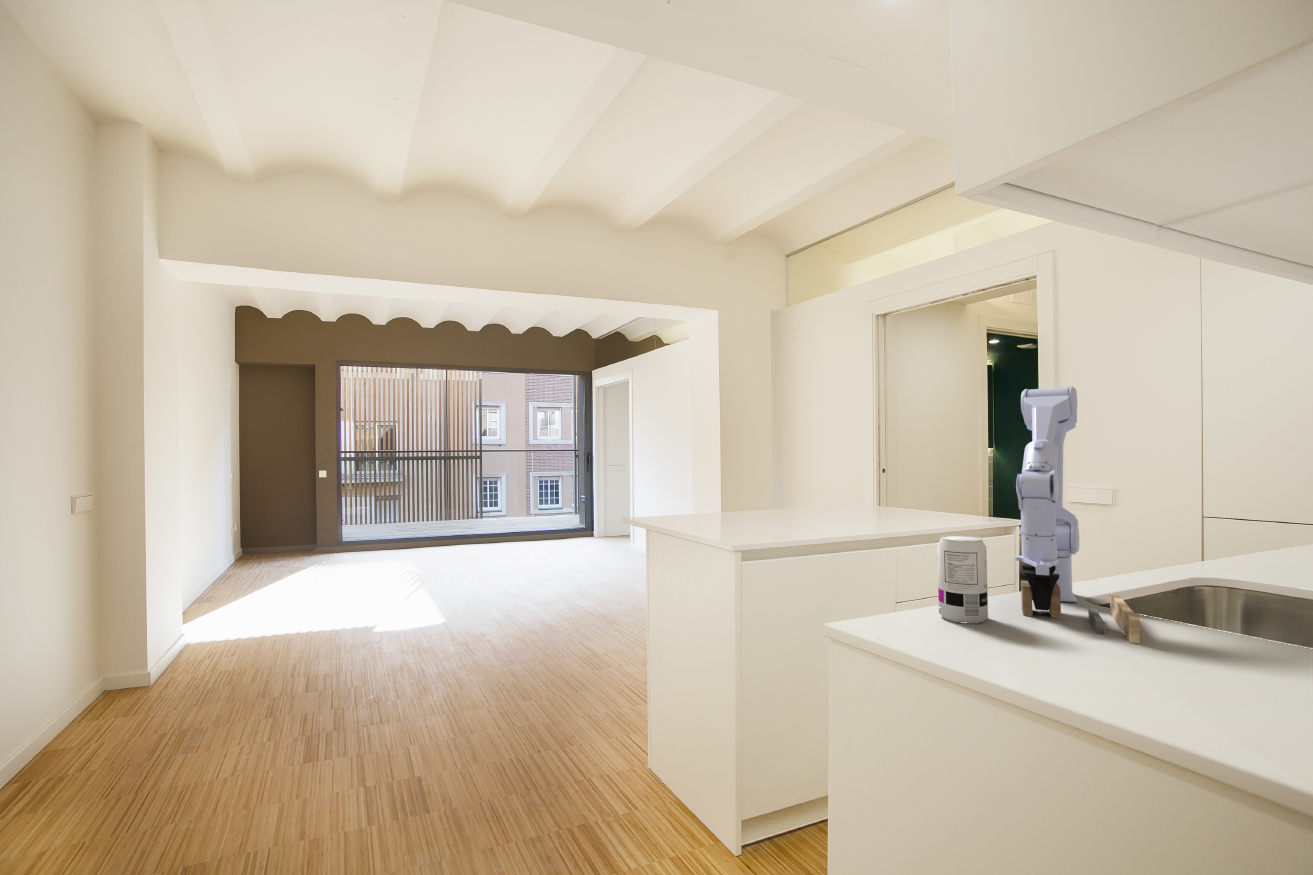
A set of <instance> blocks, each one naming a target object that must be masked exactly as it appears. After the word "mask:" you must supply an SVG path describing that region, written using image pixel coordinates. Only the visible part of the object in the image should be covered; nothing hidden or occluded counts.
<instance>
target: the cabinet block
mask: <svg viewBox="0 0 1313 875" xmlns="http://www.w3.org/2000/svg"><path fill="white" fill-rule="evenodd" d="M1020 587H1021V590H1020V592H1021V596H1020V597H1021V612H1022V615H1023V616H1026V615H1027V617H1028V616H1029V617H1033V615H1034V613H1033V598H1032V593H1031V588H1030V585H1029V582H1028V580H1020ZM1061 603H1062V601H1061V598H1060V587H1059V585H1058V583H1056V584H1055V586H1054V589H1053V592H1052V597H1051V603H1050V607H1049V610H1048V613H1049V615H1050V618H1051V619H1058V618H1059V620H1061V619H1062V607H1061Z"/></svg>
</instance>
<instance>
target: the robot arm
mask: <svg viewBox="0 0 1313 875" xmlns="http://www.w3.org/2000/svg"><path fill="white" fill-rule="evenodd" d="M1020 410H1021V414H1022V417H1023V420H1024V425H1026V428H1027V430H1029V431H1031V436H1032V437H1031V438H1032V439H1031V440H1032V441H1030V442H1028V443H1027V444H1026V445H1025V448H1024V453H1023V460H1022V467H1021V468H1022V469H1021V473H1017V477H1016V481H1015V482H1016V483H1015V488H1016V495H1017V500H1018V510H1020V527H1021V528H1020V531H1021V532H1020V533H1021V534H1020V535H1021V536H1020V537H1021V540H1020V541H1021V555H1017V554H1016V555H1014V560H1015V561H1018V562H1019V561H1020V562H1022V564H1021V568H1022V571H1023V572H1022V573H1023V575H1024V577H1025V578H1026V581H1028V582H1029V585H1030V588H1031V593H1032V598H1033V600H1032V604H1033V606H1034V609H1035V610H1036V611H1037V610H1038V611H1048V612H1049V607H1050V603H1051V597H1052V592H1053V589H1054V586H1055V584H1056V583H1058V585H1059V587H1060V598H1061V602H1066V603H1067V602H1068V603H1069V602H1070V603H1077V602H1078V599H1077V598H1076V596H1075V595H1074V592H1073V572H1072V571H1073V570H1072V556H1073V555H1077V553H1079V550H1080V529H1079V520H1078V518H1077V516H1076V515H1075V514H1074V513H1072V512H1071V511H1069V510H1068V509H1066V508H1065V507H1063V506H1064V501H1063V499H1064V495H1063V494H1064V490H1063V489H1064V443H1065V440H1066V435H1067V432H1070V431H1071V430H1073V429H1075V428H1076V427H1077V426H1076V424H1077V422H1078V392H1077V388H1075V386H1073V385H1072V386H1071V385H1070V386H1063V387H1049V388H1048V387H1047V388H1035V389H1034V388H1033V389H1029V388H1025V389H1024V390H1022V391H1021V395H1020ZM1023 563H1024V564H1023Z"/></svg>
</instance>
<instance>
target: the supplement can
mask: <svg viewBox="0 0 1313 875" xmlns="http://www.w3.org/2000/svg"><path fill="white" fill-rule="evenodd" d="M936 548H937V553H936V554H937V584H938V586H937V589H938V590H937V591H938V592H937V594H938V613H939V615H940V616H941V617H942V616H943V617H942V618H943V619H944V618H945V619H944V620H946V619H947V620H946V621H949V620H950V621H949V622H953V623H958V622H967V623H975V624H979V623H978V622H981V623H984V622H985V620H987V619H988V617H989V605H988V604H989V603H988V601H989V600H988V599H989V598H988V566H987V563H988V562H987V561H988V560H987V546H986V545H985V543H984V541H983V537H979V536H975V535H965V534H964V535H963V534H949V535H948V534H946V535H941V536H940V539H939V541H938V543H937V544H936ZM939 607H941V608H939ZM983 621H984V622H983ZM967 623H966V624H967Z"/></svg>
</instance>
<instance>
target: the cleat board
mask: <svg viewBox="0 0 1313 875" xmlns="http://www.w3.org/2000/svg"><path fill="white" fill-rule="evenodd" d="M1109 606H1110V607H1109V610H1110V612H1109V614H1110V616H1111V617H1113V618H1112V619H1113V620H1114V622H1115V621H1116V622H1115V623H1116V625H1117V624H1118V625H1117V626H1118V627H1119V629H1120V628H1121V629H1120V631H1121V632H1122V631H1123V632H1122V633H1123V635H1124V636H1125V637H1126V639H1127V638H1128V639H1127V640H1128V641H1129V643H1130V644H1136V643H1137V644H1138V645H1140V644H1141V638H1140V637H1141V635H1140V634H1141V632H1140V618H1139V617H1138V616H1137V614H1136V613H1135V612H1134V611H1133V610H1132V608H1130V606H1129V605H1128V604H1127V603H1126V601H1124V600H1123V598H1122V597H1121V596H1120V595H1119V593H1114V592H1113V593H1111V592H1110V593H1109ZM1087 610H1088V611H1087V612H1088V619H1089V622H1090V623H1091V625H1092V626H1094V627H1093V628H1094V630H1095V632H1096V633H1097V634H1103V635H1104V634H1105V621H1104V620H1103V618H1102V617H1101V615H1100V613H1099V612H1098V610H1097V609H1096V607H1092V606H1088V608H1087Z"/></svg>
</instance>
